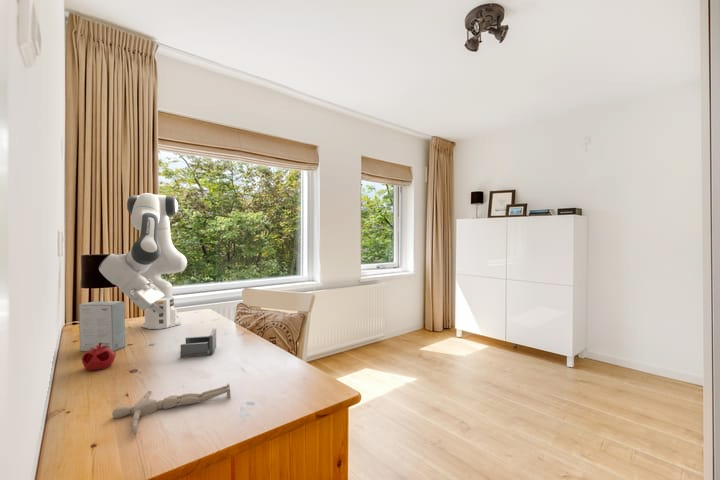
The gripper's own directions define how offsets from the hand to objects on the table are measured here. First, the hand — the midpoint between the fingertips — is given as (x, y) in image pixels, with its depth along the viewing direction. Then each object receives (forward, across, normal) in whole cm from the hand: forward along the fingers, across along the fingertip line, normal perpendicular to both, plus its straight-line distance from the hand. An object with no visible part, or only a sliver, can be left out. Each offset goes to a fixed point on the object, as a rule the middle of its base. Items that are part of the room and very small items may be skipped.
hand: (164, 310), depth 143 cm
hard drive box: (-7, +16, +33) cm, 37 cm away
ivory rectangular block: (+4, 0, +5) cm, 6 cm away
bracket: (+22, 0, +4) cm, 22 cm away
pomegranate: (-1, -8, +27) cm, 29 cm away
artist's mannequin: (+24, -48, +3) cm, 53 cm away
